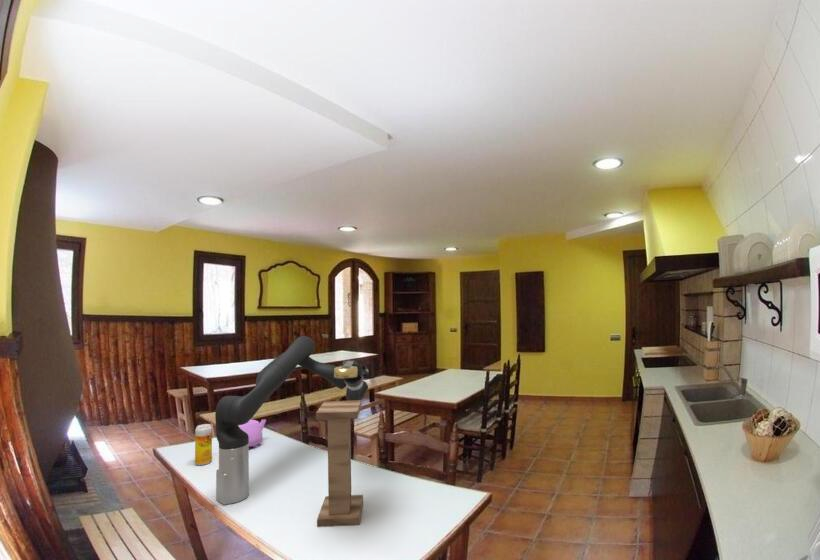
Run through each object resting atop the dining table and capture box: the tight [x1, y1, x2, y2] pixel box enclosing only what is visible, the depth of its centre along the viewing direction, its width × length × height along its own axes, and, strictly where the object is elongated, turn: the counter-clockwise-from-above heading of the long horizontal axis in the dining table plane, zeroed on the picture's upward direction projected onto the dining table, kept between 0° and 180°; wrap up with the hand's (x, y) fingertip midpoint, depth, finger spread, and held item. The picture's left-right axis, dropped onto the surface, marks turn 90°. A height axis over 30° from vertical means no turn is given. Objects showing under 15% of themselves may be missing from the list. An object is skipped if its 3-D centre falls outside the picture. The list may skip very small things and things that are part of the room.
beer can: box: [194, 423, 213, 466], centre depth 166 cm, size 6×6×15 cm
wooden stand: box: [315, 400, 364, 528], centre depth 124 cm, size 14×12×32 cm
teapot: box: [238, 418, 267, 448], centre depth 184 cm, size 20×12×13 cm, turn 141°
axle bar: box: [334, 360, 357, 379], centre depth 148 cm, size 21×8×3 cm, turn 2°
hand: (349, 362), depth 153 cm, fingers closed on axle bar, 3 cm apart
